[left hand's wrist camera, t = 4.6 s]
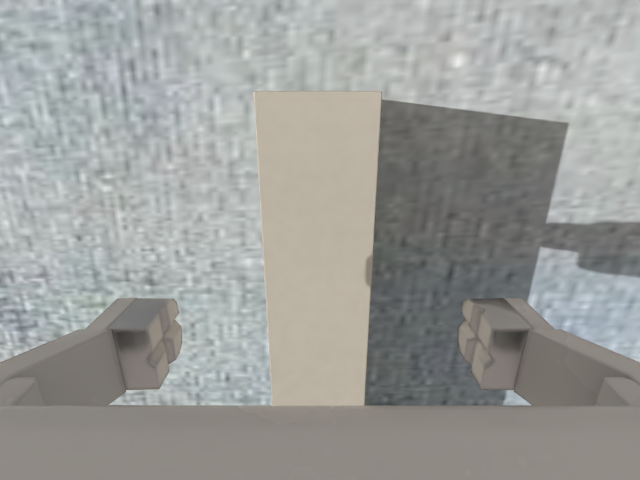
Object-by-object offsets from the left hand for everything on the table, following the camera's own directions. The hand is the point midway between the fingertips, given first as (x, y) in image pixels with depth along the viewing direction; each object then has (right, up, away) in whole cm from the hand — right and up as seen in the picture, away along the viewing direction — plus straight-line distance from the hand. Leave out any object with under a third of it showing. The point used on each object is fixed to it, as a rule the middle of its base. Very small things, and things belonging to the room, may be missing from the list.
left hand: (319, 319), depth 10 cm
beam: (0, -16, +21) cm, 26 cm away
